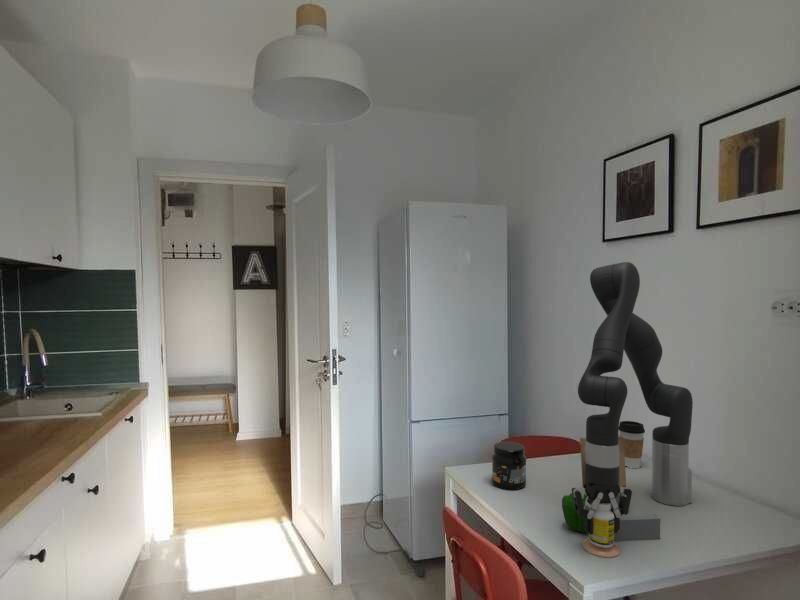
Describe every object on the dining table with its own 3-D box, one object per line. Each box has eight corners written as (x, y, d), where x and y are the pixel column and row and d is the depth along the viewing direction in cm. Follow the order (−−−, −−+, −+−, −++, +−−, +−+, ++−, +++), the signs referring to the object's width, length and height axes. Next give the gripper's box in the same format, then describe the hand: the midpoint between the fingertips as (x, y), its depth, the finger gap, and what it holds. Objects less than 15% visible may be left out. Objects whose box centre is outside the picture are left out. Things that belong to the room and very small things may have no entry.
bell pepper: (557, 520, 128) (557, 483, 128) (587, 519, 128) (587, 482, 128) (570, 536, 120) (570, 496, 119) (602, 535, 120) (603, 495, 120)
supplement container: (488, 477, 157) (488, 441, 157) (520, 477, 158) (521, 440, 157) (496, 491, 147) (496, 451, 147) (530, 490, 147) (530, 451, 147)
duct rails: (624, 509, 134) (624, 491, 134) (660, 538, 119) (660, 518, 118) (582, 511, 133) (582, 493, 133) (612, 541, 118) (613, 520, 117)
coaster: (608, 539, 118) (608, 537, 118) (626, 557, 111) (626, 555, 111) (577, 540, 118) (577, 538, 118) (592, 558, 110) (593, 556, 110)
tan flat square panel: (626, 490, 133) (624, 489, 134) (623, 437, 135) (621, 436, 136) (584, 492, 132) (582, 491, 133) (581, 438, 134) (579, 437, 135)
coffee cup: (621, 469, 165) (622, 425, 164) (614, 460, 173) (615, 418, 173) (648, 470, 163) (648, 426, 163) (640, 462, 172) (640, 419, 171)
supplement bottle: (612, 550, 111) (612, 508, 110) (587, 544, 113) (587, 502, 113) (615, 540, 115) (615, 499, 115) (591, 534, 118) (591, 494, 118)
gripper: (622, 454, 118) (622, 523, 119) (565, 456, 117) (565, 525, 117) (640, 465, 111) (639, 539, 111) (579, 467, 110) (579, 541, 110)
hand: (601, 531), depth 114 cm, fingers closed on supplement bottle, 5 cm apart
